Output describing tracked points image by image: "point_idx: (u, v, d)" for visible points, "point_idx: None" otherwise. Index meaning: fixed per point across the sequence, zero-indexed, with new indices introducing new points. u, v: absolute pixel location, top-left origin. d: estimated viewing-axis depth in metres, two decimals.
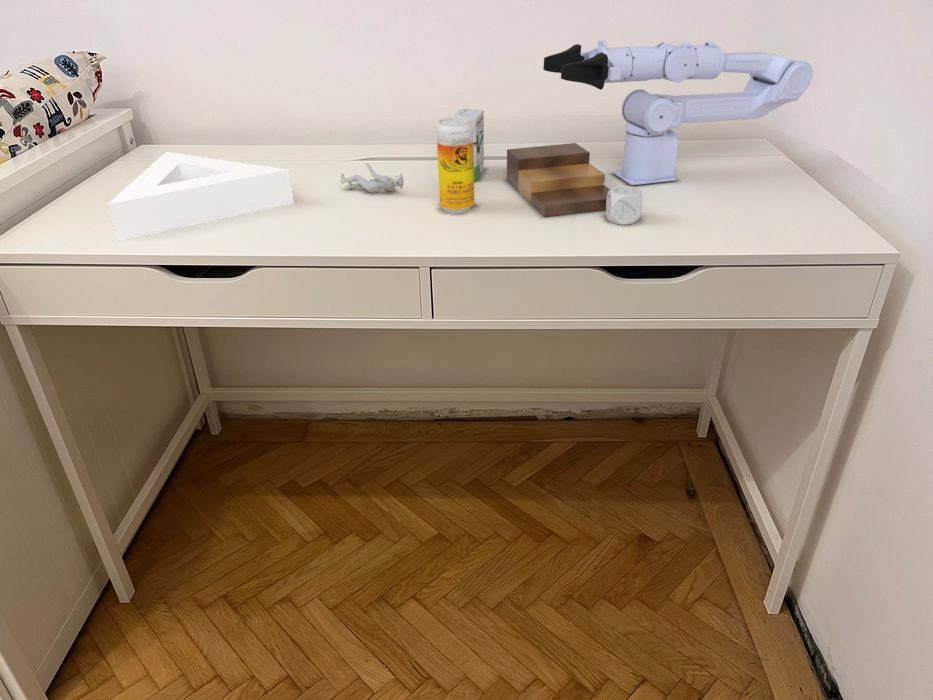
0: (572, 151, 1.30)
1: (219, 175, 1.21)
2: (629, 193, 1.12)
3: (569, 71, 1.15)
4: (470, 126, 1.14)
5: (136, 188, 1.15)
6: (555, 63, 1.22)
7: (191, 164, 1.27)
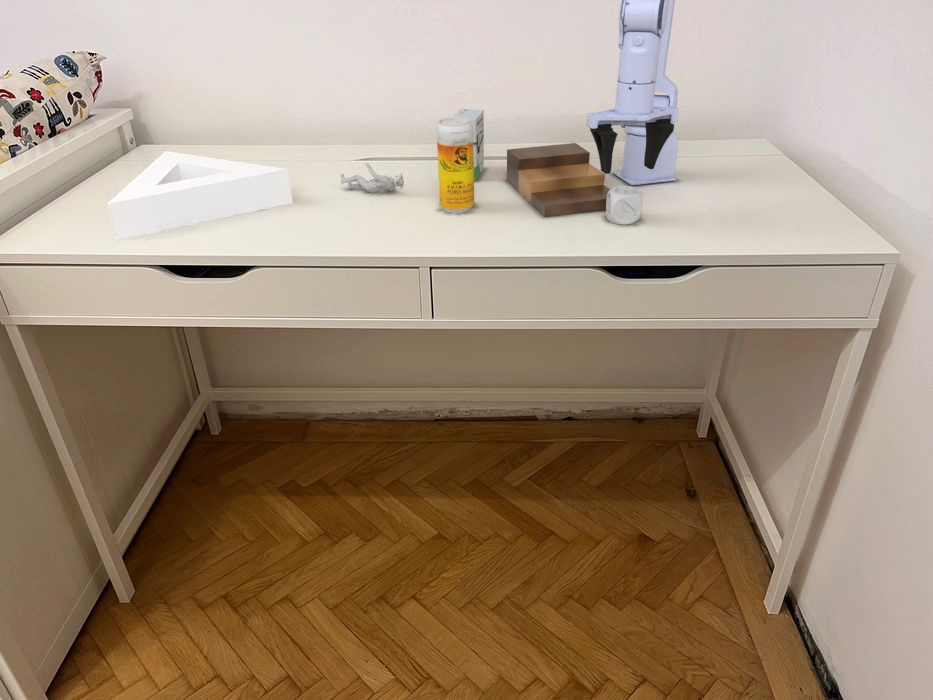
0: (572, 151, 1.30)
1: (218, 174, 1.21)
2: (629, 193, 1.12)
3: None
4: (470, 126, 1.14)
5: (136, 188, 1.16)
6: None
7: (190, 163, 1.27)
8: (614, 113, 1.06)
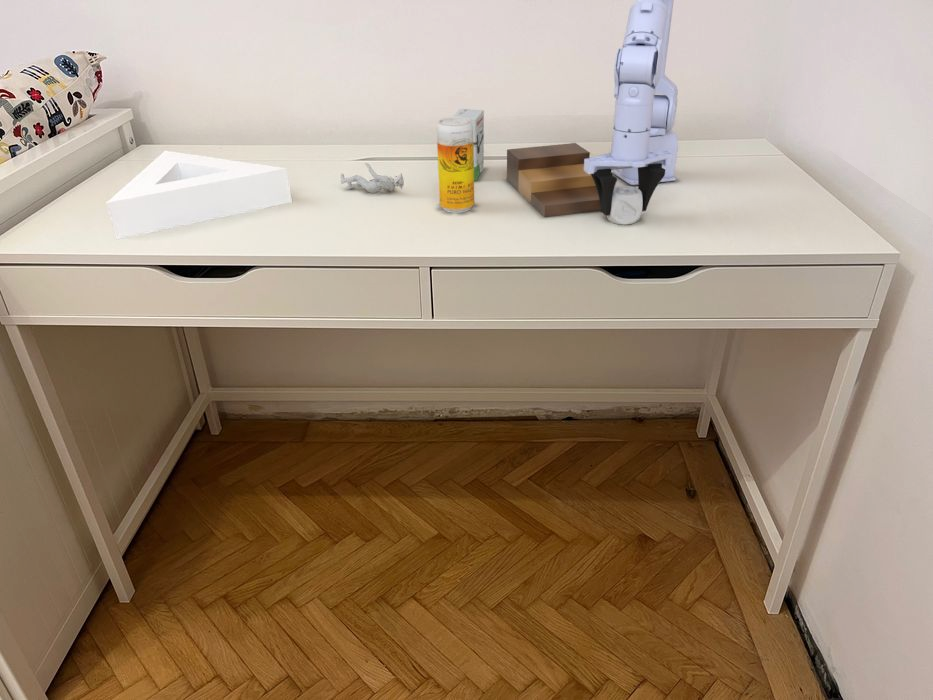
0: (572, 151, 1.30)
1: (218, 173, 1.22)
2: (629, 193, 1.12)
3: None
4: (470, 126, 1.14)
5: (135, 187, 1.16)
6: None
7: (190, 163, 1.27)
8: (610, 159, 1.10)
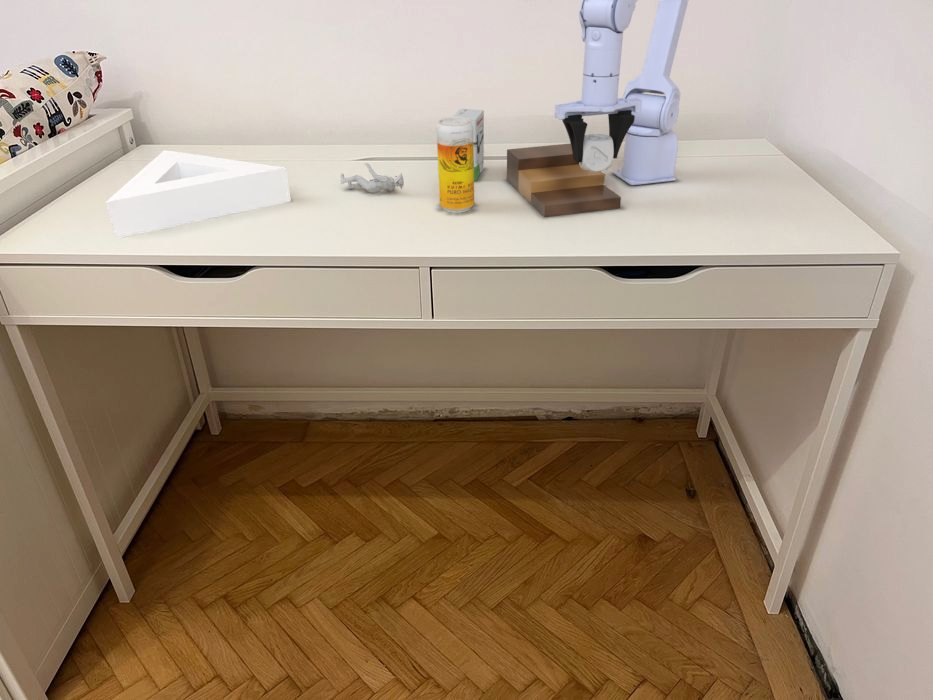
0: None
1: (217, 173, 1.22)
2: (600, 140, 1.14)
3: None
4: (470, 126, 1.14)
5: (134, 186, 1.16)
6: None
7: (189, 162, 1.28)
8: (580, 105, 1.12)
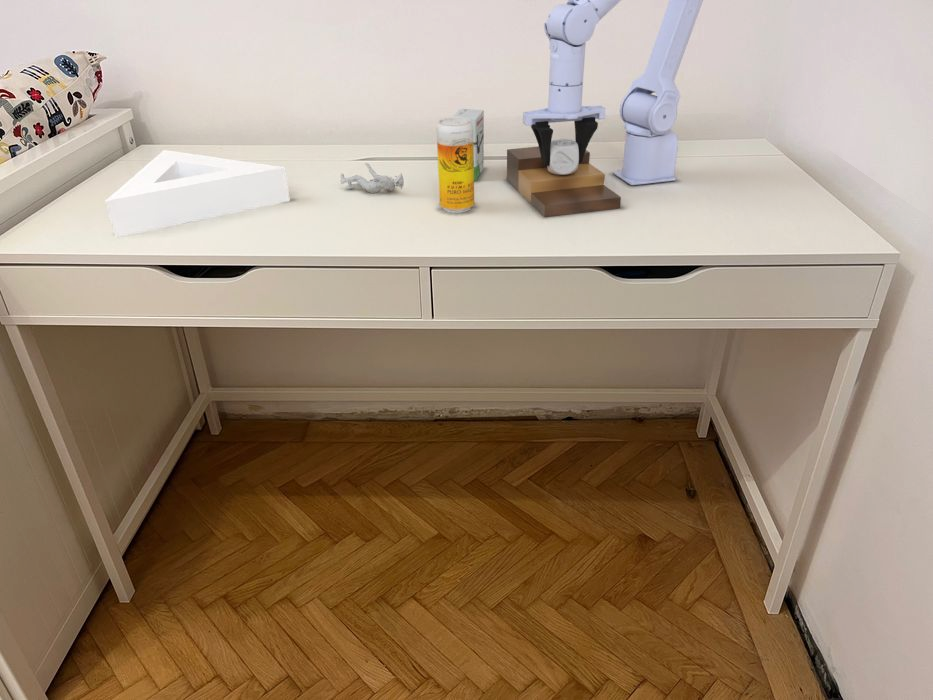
0: None
1: (216, 172, 1.22)
2: (566, 145, 1.22)
3: None
4: (470, 126, 1.14)
5: (134, 185, 1.17)
6: None
7: (188, 162, 1.28)
8: (547, 112, 1.19)
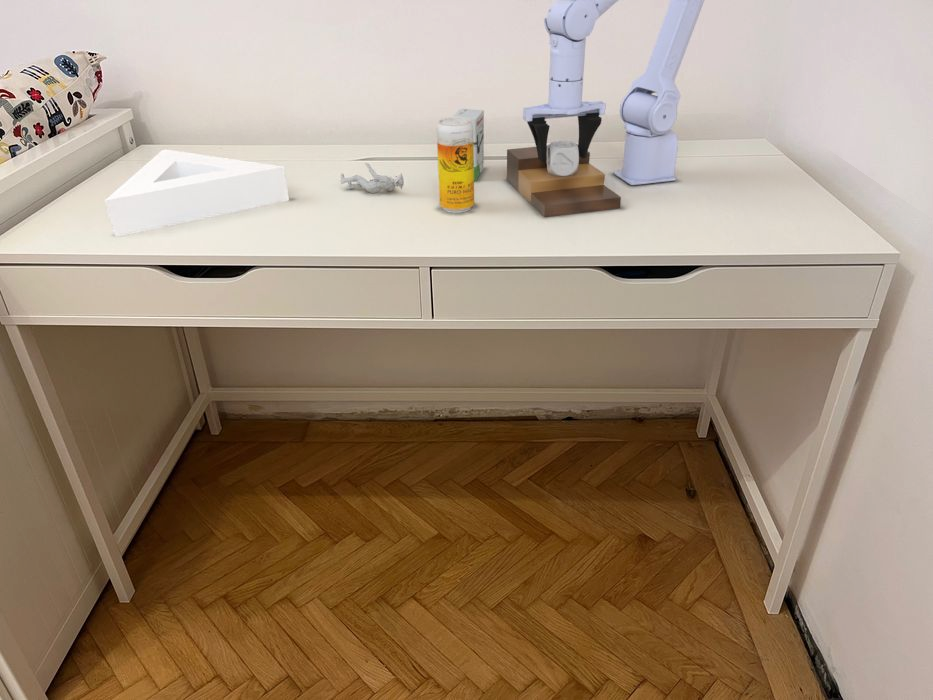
0: None
1: (215, 172, 1.22)
2: (566, 146, 1.22)
3: None
4: (470, 126, 1.14)
5: (133, 185, 1.17)
6: None
7: (188, 161, 1.28)
8: (547, 107, 1.19)
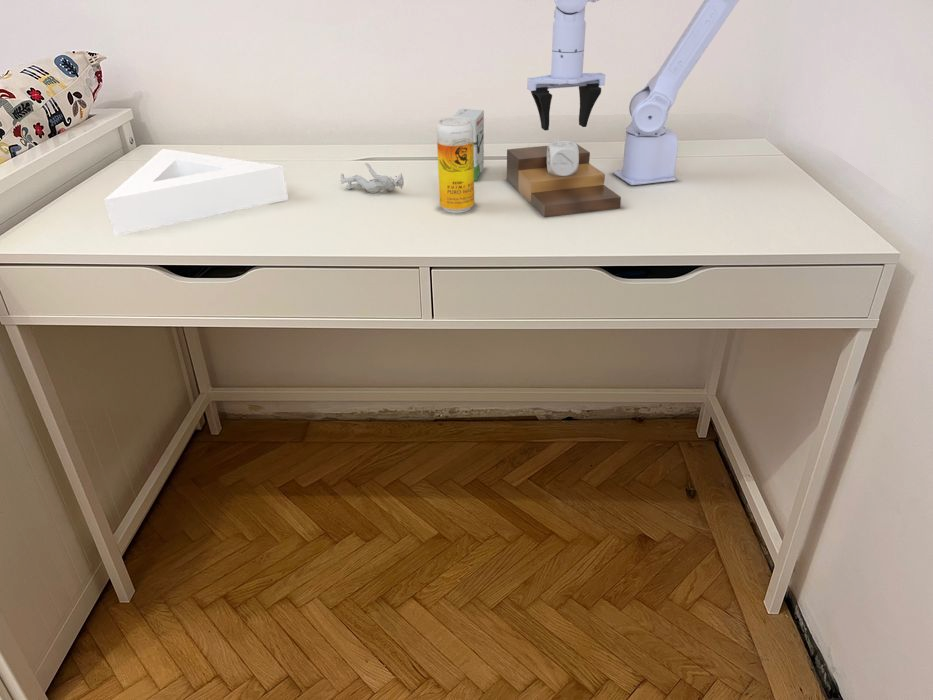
0: None
1: (214, 171, 1.23)
2: (566, 146, 1.22)
3: None
4: (470, 126, 1.14)
5: (133, 184, 1.17)
6: None
7: (187, 161, 1.29)
8: (550, 78, 1.26)
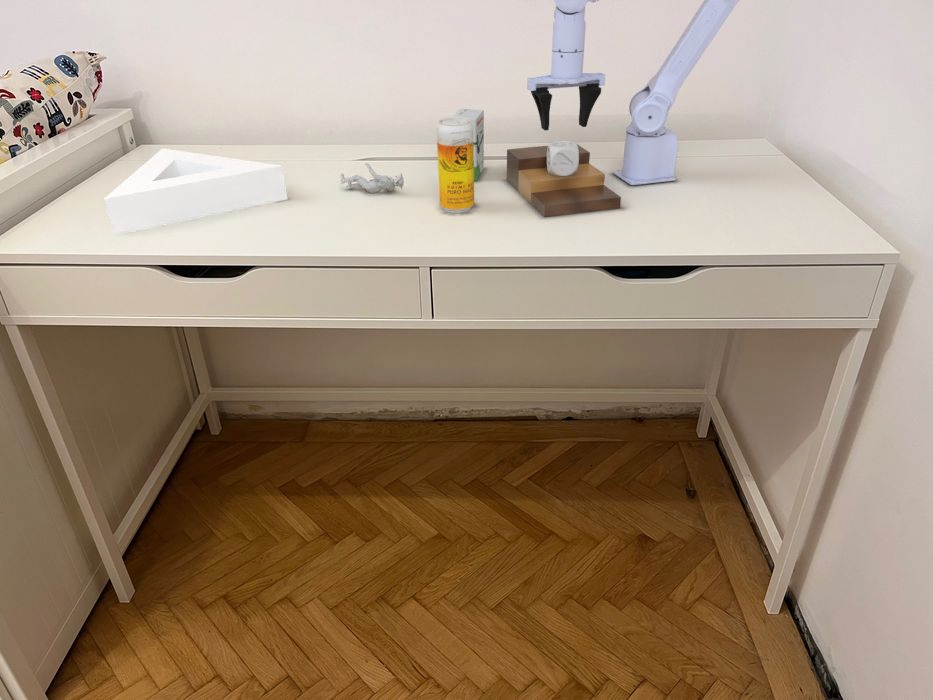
0: None
1: (214, 171, 1.23)
2: (566, 146, 1.22)
3: None
4: (470, 126, 1.14)
5: (132, 184, 1.18)
6: None
7: (187, 160, 1.29)
8: (550, 78, 1.26)
